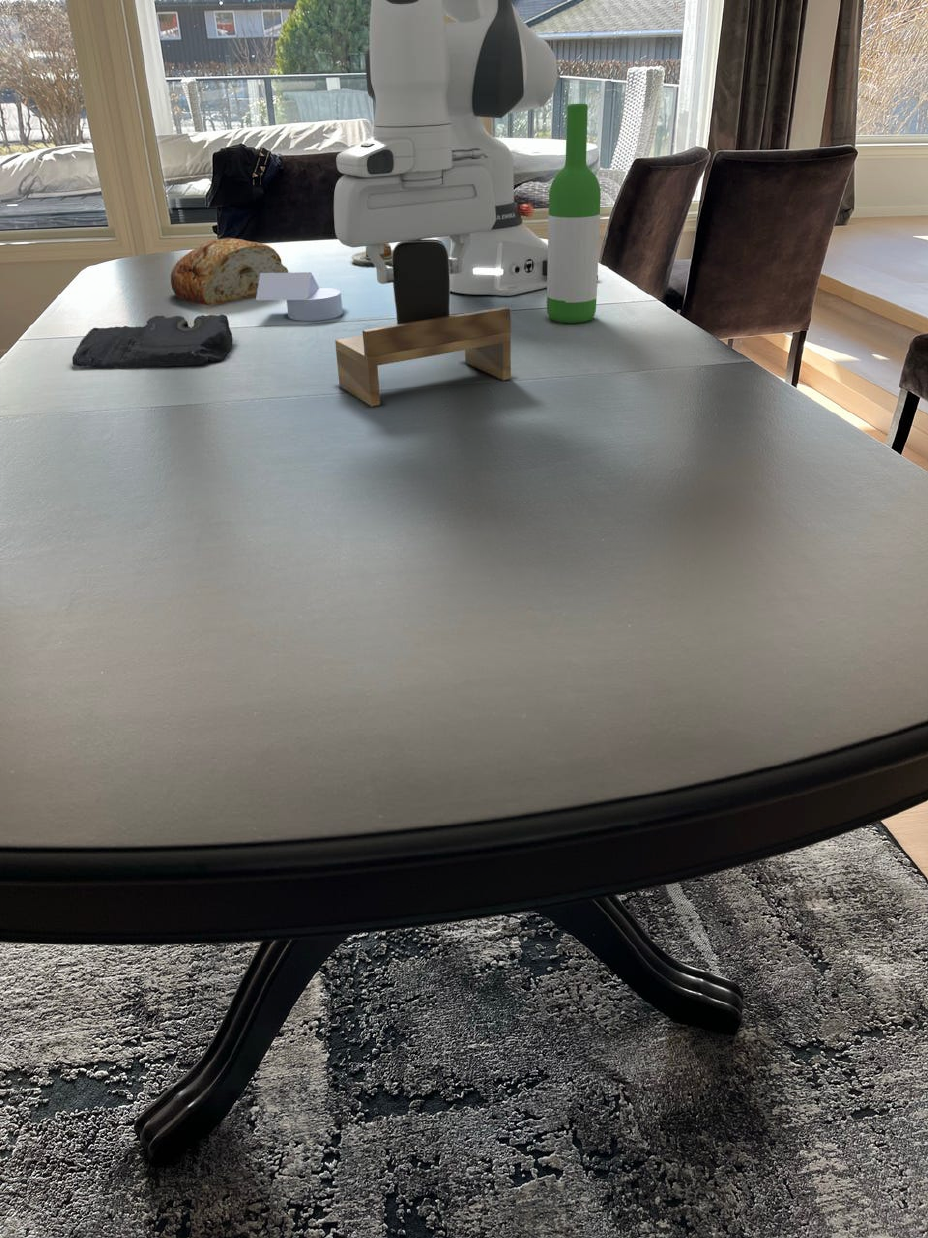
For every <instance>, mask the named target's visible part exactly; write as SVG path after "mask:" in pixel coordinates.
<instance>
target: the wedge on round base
mask: <svg viewBox="0 0 928 1238" xmlns="http://www.w3.org/2000/svg"><path fill="white" fill-rule="evenodd" d="M255 301H286V308H287V315H288V318H289V319H290V320H295V321H301V322H303V321H304V322H315V321H316V322H317V321H326V320H331V319H335V318H339V317H340V316H342V315H343V313H344V312H343V302H342V301H343V300H342V291H341V290H340V289H336V288H331V287H320V286H319V285H318V283H317V281H316V279H315V277H314V275H313V273H312V272H310V271H307V272H301V271H299V272H289V273H260V278H259V284H258V290H257V295H256V298H255Z"/></svg>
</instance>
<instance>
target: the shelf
mask: <svg viewBox="0 0 928 1238" xmlns="http://www.w3.org/2000/svg"><path fill="white" fill-rule="evenodd" d="M511 312H512V311H511V307H508V306H503V307H498V308H497V307H496V308H491V309H485V310H478V311H472V312H466V313H459V314H454V315H450V316H447V317H441V318H435V319H428V320H422V321H416V322H410V323H404V324H397V323H396V324H391V325H385V326H380V327H373V328H368V329H363V330H362V334H361V335H356V336H350V337H345V338H338V339H335V340H334V342H335V354H336V355H335V356H336V363H337V365H336V366H337V373H338V374H337V375H338V385H339V386H338V387H339V388H342V389H343V390H345V391H346V392H347V393H349V394H351V395H353V396H354V397H356V398H357V399H359V400H361V401H362V402H364V403H365V404H367V405H368V406H370V407H376V406H377V407H378V406H381V395H380V393H381V392H380V380H379V368H378V367H379V366H383V365H389V364H394V363H395V364H396V363H400V362H405V361H411V360H416V359H422V358H428V357H433V356H438V355H444V354H450V353H455V352H460V351H464V360H465V362H464V363H465V364H467V365H470V366H471V367H474V368H476V369H478V370H480V371H483V372H484V373H487V374H489V375H491V376H493V377H495V378H497V379H499V380H502V381H507V380H511V379H512V359H511V358H512V354H511V353H512V351H511V350H512V348H511V344H512V342H511V341H512V340H511V338H512V336H511V334H512V333H511V331H512V328H511V327H512V326H511V325H512V324H511V322H512V321H511V319H512V318H511Z"/></svg>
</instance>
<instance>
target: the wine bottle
mask: <svg viewBox="0 0 928 1238" xmlns="http://www.w3.org/2000/svg"><path fill="white" fill-rule="evenodd" d="M588 110H589V109H588V104H587V103H569V104H568V105H566V135H565V139H566V140H565V162H564V166H563V167H562V168H561V170H560V171H559V172H557V174H556V175H555V176H554V178H553V180H552V181H551V184H550V187H549V192H548V217H547V220H548V221H547V222H548V223H547V224H548V226H547V245H548V268H547V288H546V314H547V317H548V318H549V320H551V321H553V322H556V323H561V324H581V323H586V322H589V321H591V320H593V319H594V317H595V315H596V312H597V296H598V280H597V277H598V278H599V274H598V273H599V251H600V250H599V249H600V227H601V226H600V225H601V200H602V199H601V197H602V196H601V194H602V193H601V185H600V181H599V180H598V177H597V176H596V174H595V173H594V172H593V171H592V170H591V169H590V168H589V167H588V164H587V147H588V146H587V144H588V141H587V140H588V112H589V111H588Z"/></svg>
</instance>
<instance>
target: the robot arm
mask: <svg viewBox="0 0 928 1238" xmlns="http://www.w3.org/2000/svg"><path fill="white" fill-rule="evenodd" d="M370 2H371V3H370V17H369V44H368V45H367V47H366V48H365V50H364V63H365V78H366V90H367V95H368V96H369V97H370V98H371V99H372V100H373V101H374V102H375V113H374V117H373V119H374V120H373V129H374V130H373V131H374V136H371V137H370V138H368V139H366V140H364V141H362V142H360V143H357V144H356V145H353V146H351V147H350V148H347V149H345V150H342V151H340V152H339V153H338V154H337V156H336V159H335V162H336V163H335V164H336V169H337V171H338V172H339V173H341V174H343V175H342V176H341V177H340V178H338V180H337V182H336V184H335V188H334V193H333V221H334V222H333V223H334V233H335V236H336V238H337V240H338V241H339V242H340V243H341V244H342V245H343V246H346V247H348V248H349V247H350V248H361V247H363V248H364V247H365V252H366V253H367V255H368V256H369V258H370V259H371V261H372V262H373V264H374V267H375V269H376V279H377V282H378V283H379V284H381V285H386V284H391V283H392V284H393V282H394V277H393V274H394V270H393V267H392V266H390V265H385V263H384V261H383V260H382V258H381V256H380V254H384V244H387V243H389V244H393V243H399V242H403V241H411V240H419V239H435V238H444V237H449V238H450V251H449V270H450V292H452V293H457V294H464V295H476V296H477V295H482V296H483V295H489V296H490V295H491V296H503V297H505V296H507V297H510V296H515V295H520V294H524V293H528V292H533V291H537V290H542V289H547V268H548V243H546V242H545V241H543V240H542V238H540V237H539V236H537V235H536V234H535V233H534V232H533V231H532V230H530V229H529V228H528V227H527V226H526V225H524V222H523V218H522V217H526V218H532V216H533V214H534V212H535V210H534V207H533V205H532V204H526V203H523V204H519V203H517V202H516V201H515V190H514V189H515V160H514V159H515V158H514V156H513V154H512V152H511V150H510V148H509V147H508V146H507V145H506V144H505V143H504V142H502V141H501V140H500V139H498V138H496V137H494V136H492V135H491V134H490V133H489V132H488V131H487V129H486V127H485V125H484V121H483V118H492V119H502V118H503V117H505V116H506V115H507V114H518V113H522V112H527V111H531V110H535V109H538V108H542V107H545V105H546V104H548V102H549V101H550V98H551V97H552V96H553V93H554V91H555V88H556V85H557V80H558V65H557V60H556V56H555V54H554V52H553V50H552V48H551V47H550V45H549V43H547V41H546V40H545V39H543V38H542V37H540V36H539V35H537V34H536V33H535V32H534V31H533V30H532V29H531V28H530V27H529V26H528V25H527V24H526V22H525V21H524V19H522V18H521V16H520V14H519V13H518V11H517V9H516V7H515V6H514V4H513V2H512V0H371V1H370ZM445 16H446V17H448V18H449V19H451V20H453V21H455V22H446V18H445ZM598 280H599V276H598V277H597V281H598Z"/></svg>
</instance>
